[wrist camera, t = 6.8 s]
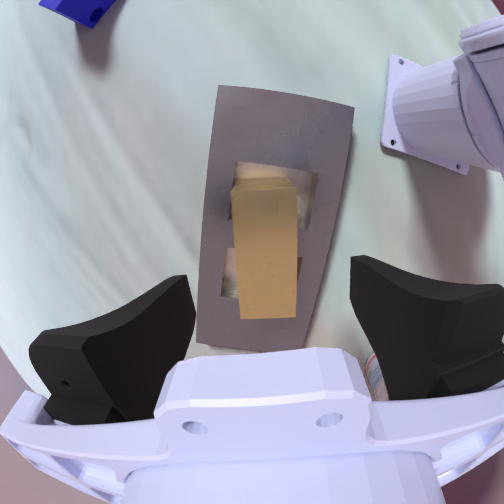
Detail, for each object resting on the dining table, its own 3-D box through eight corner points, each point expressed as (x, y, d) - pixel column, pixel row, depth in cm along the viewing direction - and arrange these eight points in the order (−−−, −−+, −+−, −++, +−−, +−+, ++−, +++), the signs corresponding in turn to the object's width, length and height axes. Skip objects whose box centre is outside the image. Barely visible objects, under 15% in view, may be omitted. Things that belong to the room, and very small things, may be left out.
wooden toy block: (287, 177, 20) (296, 188, 14) (288, 278, 23) (295, 317, 17) (238, 179, 20) (230, 191, 15) (244, 280, 23) (240, 319, 18)
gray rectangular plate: (345, 110, 18) (354, 107, 16) (297, 339, 25) (299, 354, 23) (222, 91, 18) (218, 85, 16) (200, 328, 25) (196, 342, 23)
